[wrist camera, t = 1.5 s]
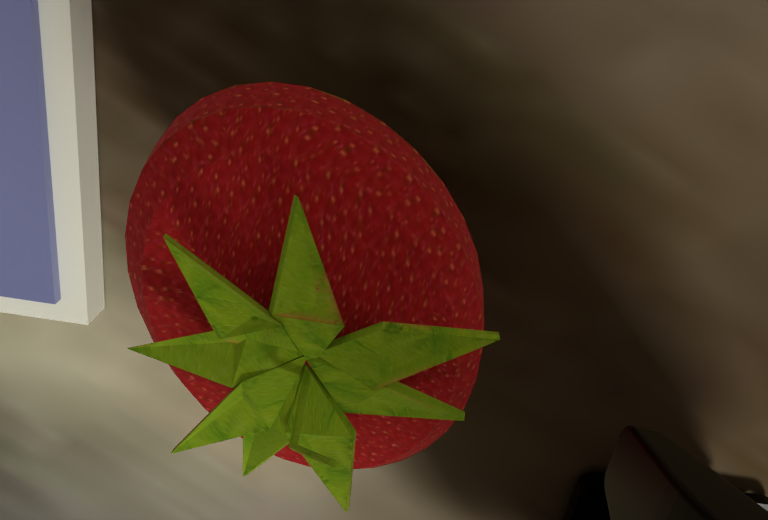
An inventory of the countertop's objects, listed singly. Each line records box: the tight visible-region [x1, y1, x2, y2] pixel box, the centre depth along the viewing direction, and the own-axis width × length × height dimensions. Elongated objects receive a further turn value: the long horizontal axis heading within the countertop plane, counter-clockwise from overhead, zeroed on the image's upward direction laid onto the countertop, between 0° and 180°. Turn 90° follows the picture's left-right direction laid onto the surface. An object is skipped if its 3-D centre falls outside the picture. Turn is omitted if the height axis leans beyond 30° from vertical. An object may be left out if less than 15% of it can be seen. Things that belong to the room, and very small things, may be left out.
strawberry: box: [125, 81, 500, 512], centre depth 11 cm, size 6×8×10 cm
